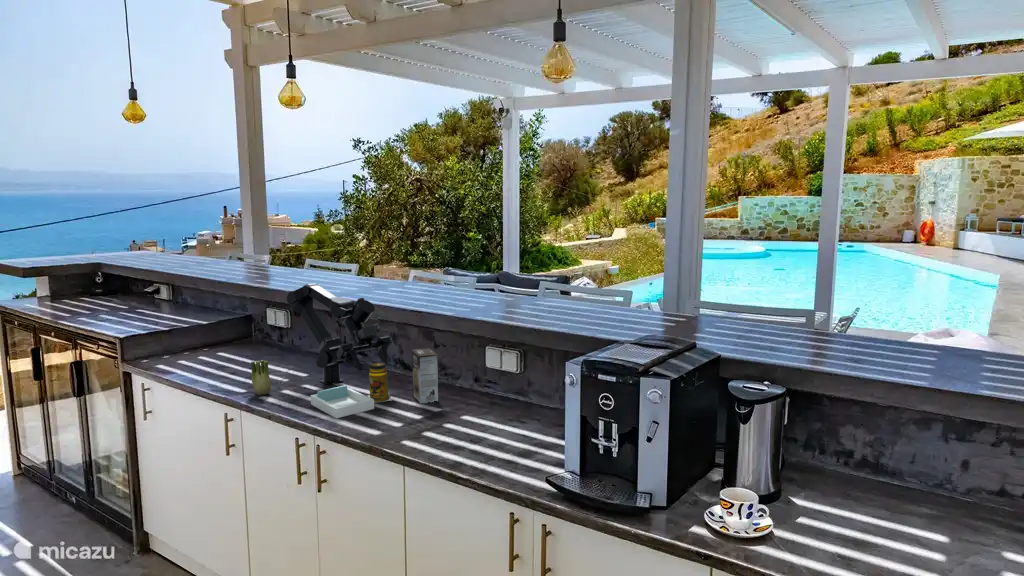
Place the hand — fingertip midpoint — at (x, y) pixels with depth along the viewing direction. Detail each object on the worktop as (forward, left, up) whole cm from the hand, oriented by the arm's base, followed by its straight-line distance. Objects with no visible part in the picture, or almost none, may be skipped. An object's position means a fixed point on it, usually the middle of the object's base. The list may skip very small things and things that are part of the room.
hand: (374, 368), depth 217 cm
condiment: (+3, 0, -10) cm, 10 cm away
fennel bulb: (-29, -27, -10) cm, 41 cm away
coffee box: (+14, +11, -10) cm, 20 cm away
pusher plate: (-5, -13, -9) cm, 17 cm away
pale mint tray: (+2, -13, -10) cm, 16 cm away
